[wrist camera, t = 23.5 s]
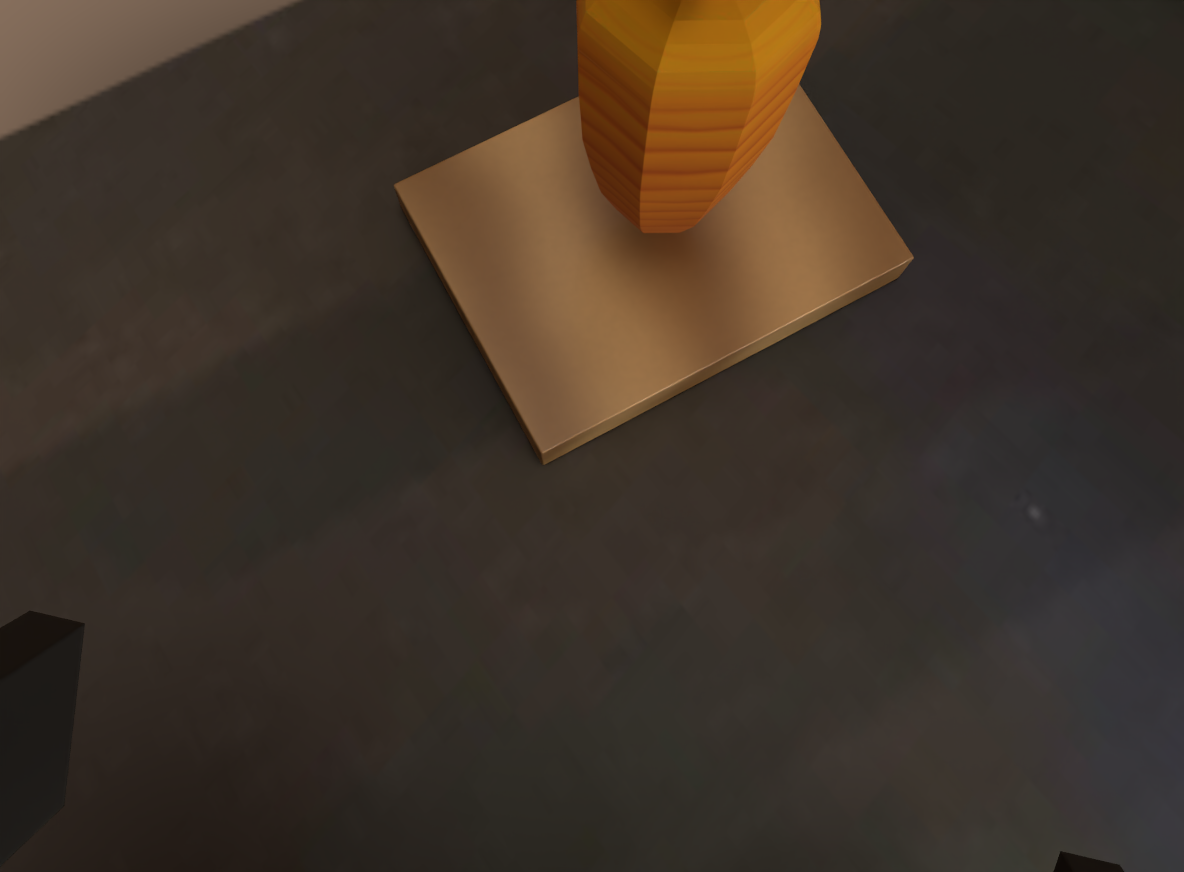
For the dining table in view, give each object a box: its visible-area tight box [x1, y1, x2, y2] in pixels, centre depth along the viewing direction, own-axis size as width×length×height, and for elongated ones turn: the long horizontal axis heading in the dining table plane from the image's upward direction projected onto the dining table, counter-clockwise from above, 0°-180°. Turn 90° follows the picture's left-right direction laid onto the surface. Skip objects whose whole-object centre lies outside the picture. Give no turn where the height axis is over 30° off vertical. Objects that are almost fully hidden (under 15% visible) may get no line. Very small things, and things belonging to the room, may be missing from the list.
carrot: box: [577, 0, 821, 233], centre depth 22 cm, size 5×5×15 cm
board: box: [394, 85, 914, 465], centre depth 30 cm, size 12×9×2 cm
